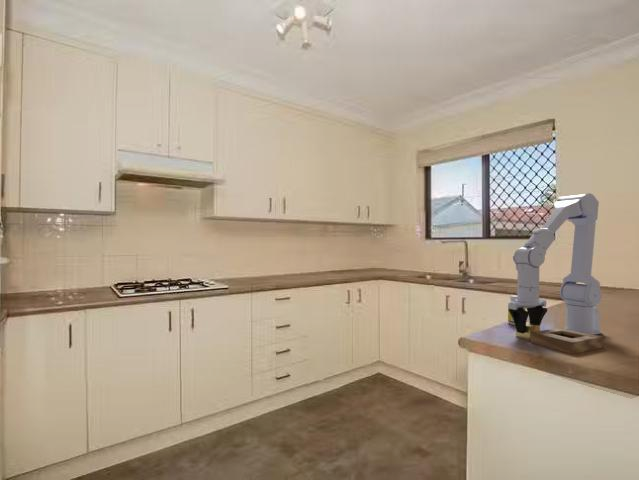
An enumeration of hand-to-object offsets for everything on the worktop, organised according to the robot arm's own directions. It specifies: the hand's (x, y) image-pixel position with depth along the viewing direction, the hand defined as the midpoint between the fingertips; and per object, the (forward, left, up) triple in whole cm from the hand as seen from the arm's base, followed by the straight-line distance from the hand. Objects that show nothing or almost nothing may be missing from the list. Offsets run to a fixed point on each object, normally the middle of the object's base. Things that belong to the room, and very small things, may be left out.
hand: (527, 331), depth 108 cm
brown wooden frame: (-2, +10, -2) cm, 10 cm away
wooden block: (0, 0, -2) cm, 2 cm away
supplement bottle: (-13, -13, -2) cm, 18 cm away
